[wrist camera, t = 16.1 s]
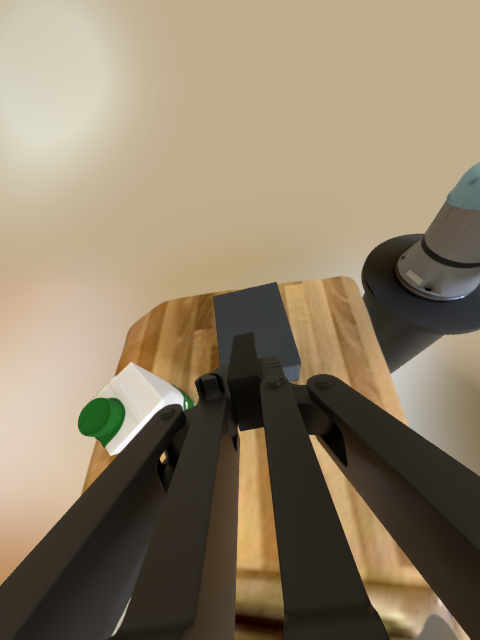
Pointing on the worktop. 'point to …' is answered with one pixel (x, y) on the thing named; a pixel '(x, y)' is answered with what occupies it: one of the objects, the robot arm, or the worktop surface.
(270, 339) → the lid
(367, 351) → the worktop surface
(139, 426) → the milk carton
